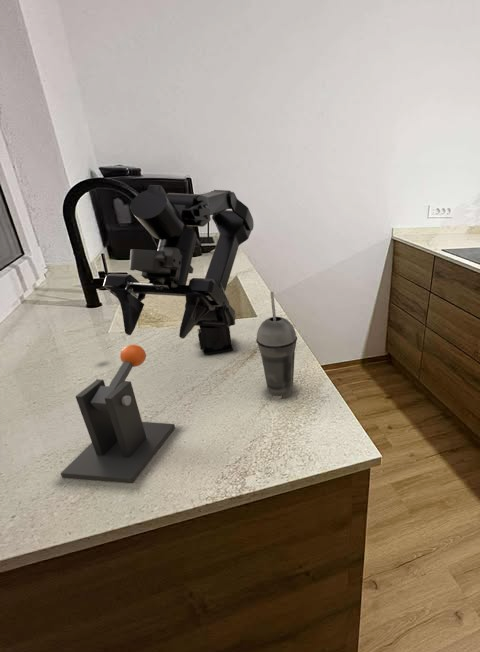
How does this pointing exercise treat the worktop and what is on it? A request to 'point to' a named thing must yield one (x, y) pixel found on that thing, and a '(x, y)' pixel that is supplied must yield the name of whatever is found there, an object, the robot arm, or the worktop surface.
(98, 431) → the switch bracket
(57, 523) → the worktop surface
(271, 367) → the beverage cup
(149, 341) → the worktop surface
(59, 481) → the worktop surface
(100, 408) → the lever
